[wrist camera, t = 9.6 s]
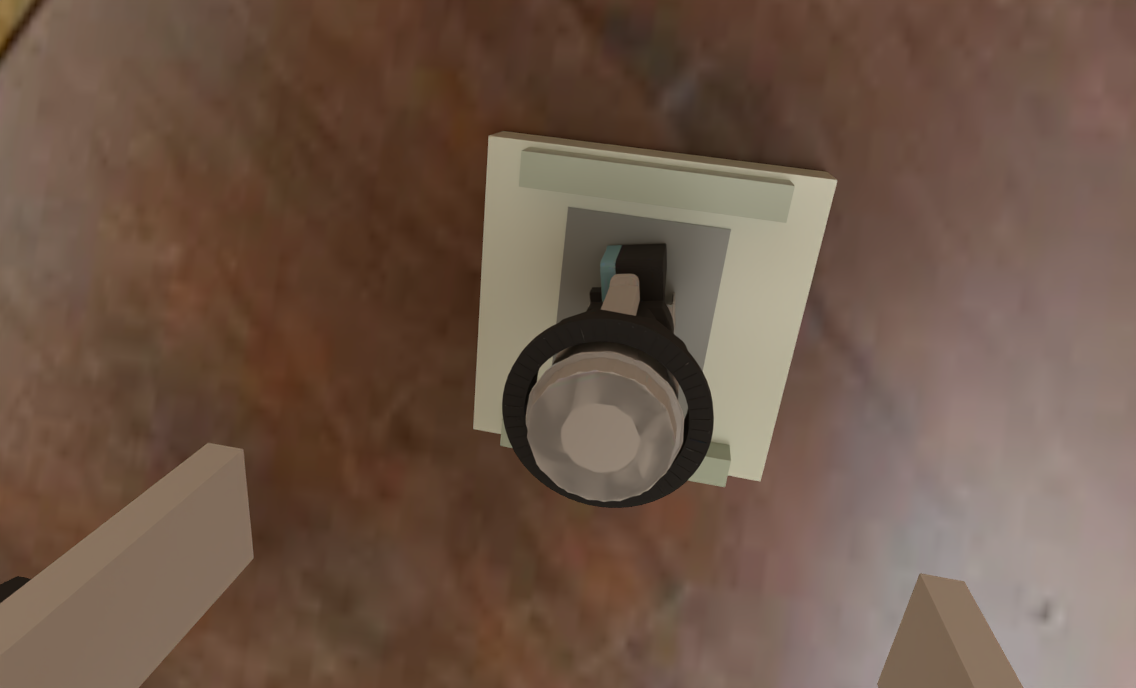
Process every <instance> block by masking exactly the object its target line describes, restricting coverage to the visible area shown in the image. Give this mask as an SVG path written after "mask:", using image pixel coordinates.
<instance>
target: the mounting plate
mask: <svg viewBox="0 0 1136 688" xmlns="http://www.w3.org/2000/svg"><path fill="white" fill-rule="evenodd" d="M836 184H837V179H835V178H834V177H833V176H832V175H830V174H829V173H828V172H825V171H817V170H809V169H801V168H793V167H786V166H778V165H770V164H762V163H754V162H746V161H738V160H730V159H722V158H714V157H706V156H698V155H690V154H682V153H674V152H666V151H658V150H651V149H643V148H635V147H627V146H619V145H611V144H603V143H595V142H587V141H579V140H571V139H563V138H555V137H547V136H539V135H531V134H524V133H516V132H508V131H502V132H499V133H496V134H492V135H489V138H488V157H487V176H486V195H485V214H484V233H483V252H482V271H481V290H480V309H479V328H478V347H477V366H476V385H475V404H474V423H473V429H476V430H482V431H487V432H493V433H498V434H501V442H500V446H504V447H510V448H512V446H511V444H510V441H509V439H508V436H507V434H506V430H505V426H504V422H503V415H502V399H503V392H504V387H505V383H506V380H507V377H508V374H509V372H510V370H511V368H512V366H513V365H514V363H515V361H516V360H517V358H518V357H519V355H520V353H521V352H522V351H523V350H524V348H525V347H526V346H527V345H528V344H529V343H530V342H531V341H532V340H533V339H534V338H535V337H536V336H538V335H539V334H540V333H542V332H543V331H544V330H546V329H548V328H549V327H551V326H553V325H555V324H557V323H559V322H560V321H561V320H563V319H565V318H568V317H571V316H574V315H577V314H580V313H583V312H586V311H587V309H588V305H589V303H590V295H589V292H590V290H591V288H592V287H601V275H600V263H601V259H602V257H603V255H604V253H605V251H606V247H607V246H610V245H634V244H663V243H665V244H666V247H667V273H666V286H665V304H672V296H673V293H675V331H674V334H675V335H676V336H677V337H678V338H680V339H681V340H682V341H683V342H684V343H685V345H686V347H687V350H688V352H689V353H690V354H691V355H692V356H693V358H694V359H695V360H696V362H697V363H698V365H699V366H700V368H701V370H702V371H703V373H704V375H705V378H706V380H707V382H708V385H709V388H710V391H711V396H712V401H713V413H714V425H713V434H712V439H711V443H710V446H709V449H708V451H707V454H706V456H705V458H704V460H703V461H702V463H701V465H700V466H699V468H698V469H697V470H696V472H695V473H694V474H693V475H692V476H691V477H690V478H689V479H688V480H689V481H694V482H699V483H705V484H710V485H716V486H721V487H725V485H726V480H727V476H734V477H739V478H745V479H750V480H756V481H761V477H762V473H763V469H764V465H765V461H766V457H767V453H768V450H769V446H770V442H771V438H772V434H773V430H774V426H775V422H776V418H777V414H778V411H779V407H780V403H781V399H782V395H783V391H784V387H785V383H786V379H787V375H788V371H789V368H790V364H791V360H792V356H793V352H794V348H795V344H796V340H797V336H798V332H799V329H800V325H801V321H802V317H803V313H804V309H805V305H806V301H807V297H808V293H809V289H810V286H811V282H812V278H813V274H814V270H815V266H816V262H817V258H818V254H819V250H820V247H821V243H822V239H823V235H824V231H825V227H826V223H827V219H828V215H829V211H830V207H831V204H832V200H833V196H834V192H835V188H836ZM557 354H558V353H557ZM557 354H555V355H554V356H552V357H551V358H550V359H548V360H547V361H546V362H545V363H544V364H543V365H542V366H541V367H540V368H539V371H538V377H537V381H538V380H539V379H540V378H541V376H542V375H543V374H544V372H545V371H546V370H547V369H548V368H550V367H551V366H552V364H553V362H554V360H555V358H556V356H557ZM678 402H679V404H680V406H681V409H682V411H683V416H684V419H685V416H686V414H687V410H688V405H687V401H686V398H685V395H684V393H683V391H682V389H681V387H680V385H679V393H678Z"/></svg>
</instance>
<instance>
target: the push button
mask: <svg viewBox="0 0 1136 688" xmlns="http://www.w3.org/2000/svg"><path fill="white" fill-rule="evenodd" d="M666 273H667V247H666V244H665V243H663V244H634V245H610V246H607V247H606V251H605V253H604V255H603V257H602V259H601V263H600V275H601V287H592V288H591V290H590V292H589V295H590V303H589V305H588V309H587V311H586V312H583V313H580V314H577V315H574V316H571V317H568V318H565V319H563V320H561V321H560V322H559V323H557V324H555V325H553V326H551V327H549V328H548V329H546V330H544V331H543V332H542V333H540V334H539V335H538V336H536V337H535V338H534V339H533V340H532V341H531V342H530V343H529V344H528V345H527V346H526V347H525V348H524V350H523V351H522V352H521V353H520V355H519V357H518V358H517V360H516V361H515V363H514V365H513V366H512V368H511V370H510V372H509V374H508V377H507V380H506V383H505V387H504V392H503V399H502V415H503V422H504V426H505V430H506V434H507V436H508V439H509V441H510V444H511V446H512V448H513V450H514V452H515V453H516V455H517V456H518V458H519V459H520V461H521V462H522V463H523V465H524V466H525V467H526V468H527V469H528V470H529V471H530V472H531V473H532V474H533V476H535V477H536V478H537V479H538V480H539V481H540V482H542V483H543V484H544V485H546V486H547V487H549V488H550V489H552V490H554V491H555V492H557V493H559V494H561V495H563V496H565V497H567V498H569V499H572V500H575V501H577V502H581V503H584V504H588V505H593V506H598V507H608V508H623V507H632V506H638V505H643V504H646V503H650V502H653V501H655V500H658V499H660V498H662V497H664V496H666V495H668V494H670V493H672V492H673V491H675V490H676V489H678V488H679V487H680V486H682V485H683V484H684V483H685V482H686V481H687V480H688V479H689V478H690V477H691V476H692V475H693V474H694V473H695V472H696V470H697V469H698V468H699V466H700V465H701V463H702V461H703V460H704V458H705V456H706V454H707V451H708V449H709V446H710V443H711V439H712V434H713V425H714V413H713V401H712V396H711V391H710V388H709V385H708V382H707V380H706V378H705V375H704V373H703V371H702V370H701V368H700V366H699V365H698V363H697V362H696V360H695V359H694V358H693V356H692V355H691V354H690V353H689V352H688V350H687V347H686V345H685V343H684V342H683V341H682V340H681V339H680V338H678V337H677V336H676V335H675V334H674V331H675V293H673V296H672V304H665V286H666ZM557 353H558V354H557ZM555 354H557V356H556V358H555V360H554V362H553V364H552V366H551V367H550V368H548V369H547V370H546V371H545V372H544V374H543V375H542V376H541V378H540V379H539V380H538V381H537V377H538V371H539V368H540V367H541V366H542V365H543V364H544V363H545V362H546V361H547V360H548V359H550V358H551V357H552V356H554V355H555ZM679 385H680V387H681V389H682V391H683V393H684V395H685V398H686V401H687V405H688V410H687V414H686V416H685V419H684V416H683V411H682V409H681V406H680V404H679V402H678V393H679Z"/></svg>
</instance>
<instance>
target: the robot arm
mask: <svg viewBox="0 0 1136 688" xmlns="http://www.w3.org/2000/svg"><path fill="white" fill-rule="evenodd" d="M253 558H254V555H253V545H252V534H251V524H250V513H249V503H248V493H247V482H246V472H245V462H244V451H243V449H239V448H234V447H229V446H223V445H218V444H212V443H207V444H206V445H205V446H203V447H202V448H201V449H199V450H198V451H197V452H195V453H194V454H193V455H192V456H190V457H189V458H188V459H186V460H185V461H184V462H183V463H181V464H180V465H179V466H177V467H176V468H175V469H173V470H172V471H171V472H170V473H168V474H167V475H166V476H164V477H163V478H162V479H161V480H159V481H158V482H157V483H155V484H154V485H153V486H152V487H150V488H149V489H148V490H146V491H145V492H144V493H142V494H141V495H140V496H139V497H137V498H136V499H135V500H133V501H132V502H131V503H130V504H128V505H127V506H126V507H124V508H123V509H122V510H120V511H119V512H118V513H117V514H115V515H114V516H113V517H111V518H110V519H109V520H108V521H106V522H105V523H104V524H102V525H101V526H100V527H98V528H97V529H96V530H95V531H93V532H92V533H91V534H89V535H88V536H87V537H86V538H84V539H83V540H82V541H80V542H79V543H78V544H77V545H75V546H74V547H73V548H71V549H70V550H69V551H67V552H66V553H65V554H64V555H62V556H61V557H60V558H58V559H57V560H56V561H55V562H53V563H52V564H51V565H49V566H48V567H47V568H45V569H44V570H43V571H42V572H40V573H39V574H38V575H36V576H35V577H34V578H33V579H28V578H24V577H19V576H17V577H15V578H13V579H11V580H9V581H7V582H5V583H3V584H0V688H139V687H140V686H141V684H142V683H143V682H144V681H145V680H146V679H147V678H148V677H149V675H150V674H151V673H152V672H153V671H154V670H155V669H156V668H157V666H158V665H159V664H160V663H161V662H162V661H163V660H164V659H165V657H166V656H167V655H168V654H169V653H170V652H171V651H172V650H173V648H174V647H175V646H176V645H177V644H178V643H179V642H180V641H181V639H182V638H183V637H184V636H185V635H186V634H187V633H188V632H189V630H190V629H191V628H192V627H193V626H194V625H195V624H196V623H197V621H198V620H199V619H200V618H201V617H202V616H203V615H204V614H205V612H206V611H207V610H208V609H209V608H210V607H211V606H212V605H213V603H214V602H215V601H216V600H217V599H218V598H219V597H220V596H221V594H222V593H223V592H224V591H225V590H226V589H227V588H228V587H229V585H230V584H231V583H232V582H233V581H234V580H235V579H236V578H237V576H238V575H239V574H240V573H241V572H242V571H243V570H244V569H245V567H246V566H247V565H248V564H249V563H250V562H251V561H252V560H253ZM877 684H878V688H1023V686H1022V685H1021V683H1020V681H1019V679H1018V677H1017V676H1016V674H1015V672H1014V670H1013V668H1012V667H1011V665H1010V663H1009V661H1008V659H1007V658H1006V656H1005V654H1004V652H1003V650H1002V649H1001V647H1000V645H999V643H998V641H997V640H996V638H995V636H994V634H993V632H992V631H991V629H990V627H989V625H988V623H987V622H986V620H985V618H984V616H983V614H982V613H981V611H980V609H979V607H978V605H977V604H976V602H975V600H974V598H973V596H972V595H971V593H970V591H969V589H968V587H967V586H966V584H965V582H964V581H959V580H953V579H948V578H942V577H937V576H931V575H926V574H920V575H919V577H918V580H917V582H916V585H915V588H914V590H913V593H912V595H911V598H910V600H909V603H908V606H907V608H906V611H905V613H904V616H903V619H902V621H901V624H900V626H899V629H898V632H897V634H896V637H895V639H894V642H893V645H892V647H891V650H890V652H889V655H888V657H887V660H886V663H885V665H884V668H883V670H882V673H881V676H880V678H879V681H878V683H877Z"/></svg>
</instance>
